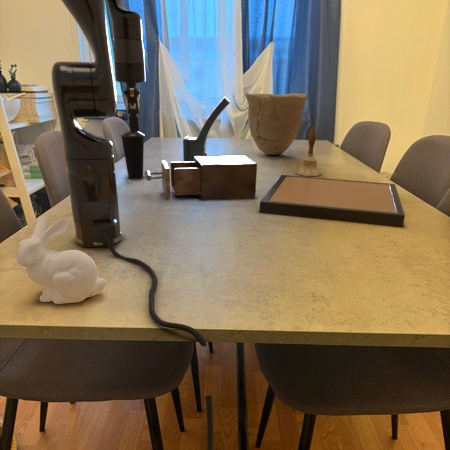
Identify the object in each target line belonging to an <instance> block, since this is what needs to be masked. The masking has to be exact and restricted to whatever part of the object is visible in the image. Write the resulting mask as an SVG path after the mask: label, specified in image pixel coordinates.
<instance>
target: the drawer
mask: <svg viewBox="0 0 450 450" xmlns="http://www.w3.org/2000/svg"><path fill="white" fill-rule="evenodd" d="M160 161H161V163H160V165H161V171H150V170H145V171H144V177H145V179H146V181H148V182H150V181H152V180H159V179H160V180H161V185H162V186H161V187H162V191H163V192H164V195H165V198H166V199H167V198H168V199H169V198H171V189H172V191H173V193H174V194H173V195H175V196H193V195H195V196H197V195H198V196H199V195H201V167H200V166H199V164H198V163H197V162H183V161H170V167H169V165H168V162H167V161H166V160H160Z"/></svg>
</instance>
